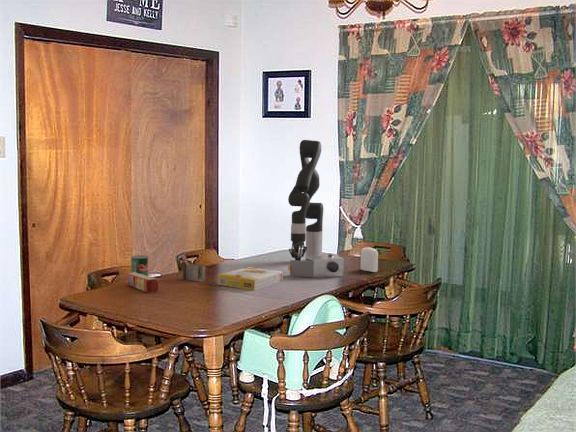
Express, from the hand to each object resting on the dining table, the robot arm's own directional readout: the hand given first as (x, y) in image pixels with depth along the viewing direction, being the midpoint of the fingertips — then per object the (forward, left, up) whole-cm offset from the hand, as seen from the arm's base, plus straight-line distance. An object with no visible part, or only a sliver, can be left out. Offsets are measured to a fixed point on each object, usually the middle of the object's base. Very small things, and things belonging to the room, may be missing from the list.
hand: (297, 265), depth 362 cm
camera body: (+2, +14, -4) cm, 15 cm away
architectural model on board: (+2, -53, -5) cm, 54 cm away
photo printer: (-3, +41, -5) cm, 41 cm away
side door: (+6, 0, -4) cm, 7 cm away
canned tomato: (-5, -78, -5) cm, 79 cm away
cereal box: (+15, -28, -5) cm, 33 cm away
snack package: (+18, -80, -5) cm, 82 cm away
